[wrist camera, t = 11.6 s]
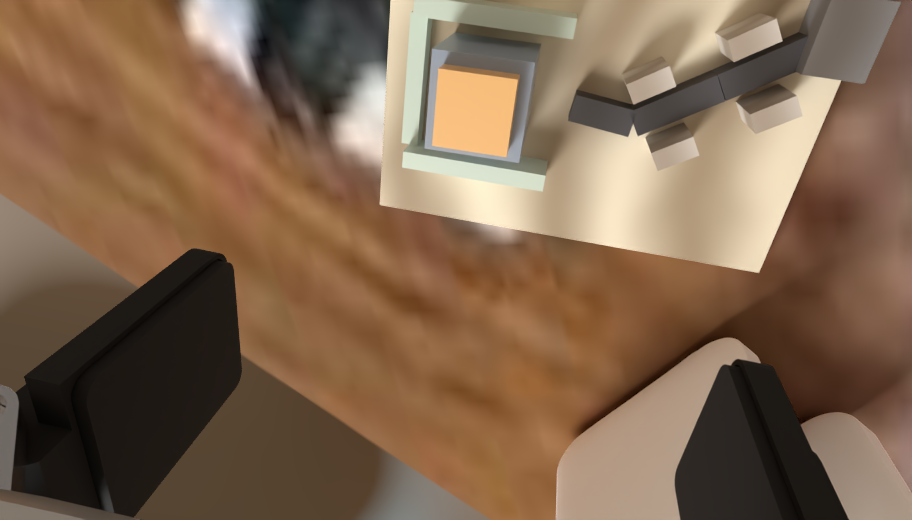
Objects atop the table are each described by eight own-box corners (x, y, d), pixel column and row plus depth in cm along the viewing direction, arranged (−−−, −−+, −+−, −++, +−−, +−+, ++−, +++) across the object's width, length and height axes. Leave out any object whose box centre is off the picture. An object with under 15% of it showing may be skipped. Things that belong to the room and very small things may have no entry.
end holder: (576, 13, 26) (577, 18, 24) (544, 175, 29) (542, 191, 27) (417, -10, 26) (405, -6, 24) (405, 152, 30) (394, 166, 28)
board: (875, -34, 24) (921, -31, 21) (752, 261, 31) (772, 297, 28) (403, -94, 26) (379, -99, 23) (385, 196, 33) (366, 223, 30)
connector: (541, 43, 26) (533, 67, 21) (527, 129, 28) (517, 171, 23) (454, 32, 27) (426, 52, 22) (446, 118, 29) (418, 155, 24)
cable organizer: (740, 306, 32) (817, 471, 22) (866, 413, 34) (991, 611, 24) (554, 442, 39) (548, 614, 29) (667, 525, 41) (698, 714, 31)
